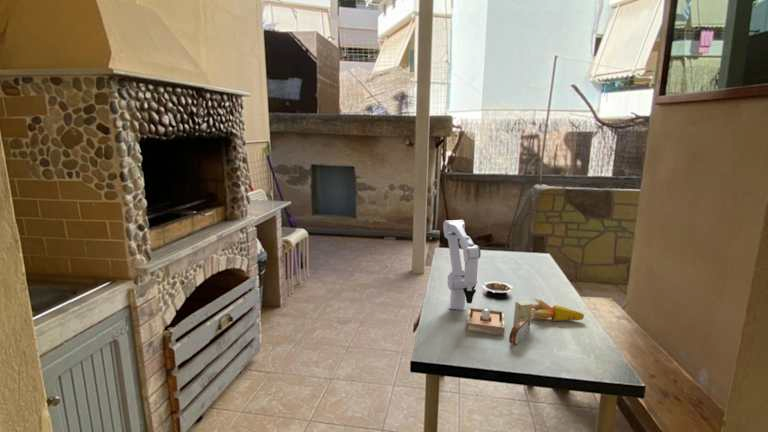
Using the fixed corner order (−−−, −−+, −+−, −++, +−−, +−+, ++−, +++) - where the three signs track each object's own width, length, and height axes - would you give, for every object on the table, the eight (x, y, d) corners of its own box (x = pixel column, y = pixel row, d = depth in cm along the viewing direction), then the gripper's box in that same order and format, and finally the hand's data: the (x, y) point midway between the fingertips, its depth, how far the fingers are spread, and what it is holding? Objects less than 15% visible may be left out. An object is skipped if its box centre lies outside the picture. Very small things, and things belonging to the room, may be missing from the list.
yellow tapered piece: (580, 330, 192) (525, 320, 195) (577, 316, 198) (524, 306, 201) (587, 320, 187) (531, 310, 189) (584, 306, 192) (529, 296, 195)
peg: (480, 321, 191) (481, 307, 189) (488, 321, 191) (488, 308, 189) (482, 325, 187) (483, 311, 185) (489, 325, 187) (490, 311, 185)
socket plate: (472, 316, 196) (473, 311, 195) (498, 319, 193) (499, 314, 192) (471, 328, 185) (471, 323, 184) (499, 331, 182) (499, 326, 181)
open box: (468, 315, 198) (469, 307, 198) (503, 319, 194) (503, 311, 194) (466, 331, 183) (466, 322, 182) (503, 336, 179) (504, 327, 179)
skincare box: (518, 330, 184) (520, 305, 181) (512, 326, 188) (514, 301, 185) (530, 328, 186) (533, 303, 183) (525, 324, 190) (527, 299, 187)
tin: (521, 332, 183) (523, 314, 181) (528, 334, 181) (530, 317, 179) (507, 346, 171) (509, 328, 169) (515, 349, 169) (516, 330, 168)
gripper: (463, 266, 196) (461, 292, 199) (460, 276, 182) (459, 305, 185) (478, 267, 194) (476, 294, 197) (477, 278, 180) (475, 306, 183)
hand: (469, 299), depth 191 cm, fingers open, 7 cm apart
